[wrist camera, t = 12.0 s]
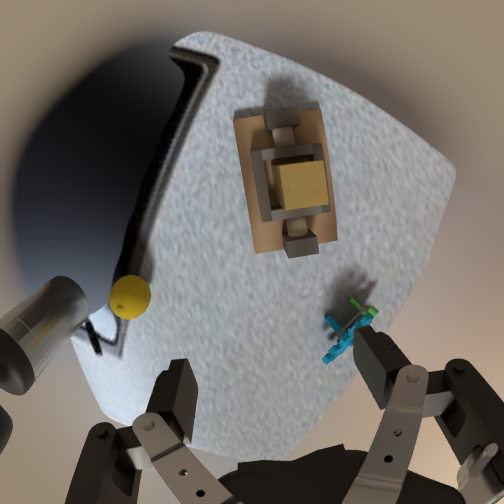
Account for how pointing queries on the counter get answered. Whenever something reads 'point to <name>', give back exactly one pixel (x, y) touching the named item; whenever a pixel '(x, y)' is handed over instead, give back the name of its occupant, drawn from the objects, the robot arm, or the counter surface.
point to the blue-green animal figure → (346, 336)
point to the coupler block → (300, 184)
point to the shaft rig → (261, 182)
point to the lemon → (130, 297)
